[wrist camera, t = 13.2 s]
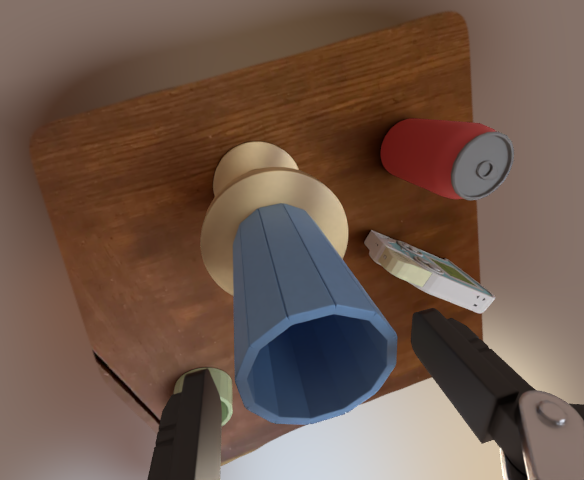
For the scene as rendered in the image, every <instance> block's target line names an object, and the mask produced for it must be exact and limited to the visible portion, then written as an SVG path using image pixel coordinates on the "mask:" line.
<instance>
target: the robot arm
mask: <svg viewBox="0 0 584 480" xmlns="http://www.w3.org/2000/svg"><path fill="white" fill-rule="evenodd" d="M411 344H412V347H413V350H414V352H415V354H416V356H417V357H418V358H419V360H420V361H421V362H422V364H423V365H424V366H425V368H426V369H427V370H428V372H429V373H430V375H431V376H432V377H433V379H434V380H435V381H436V383H437V384H438V385H439V387H440V388H441V389H442V391H443V392H444V393H445V395H446V396H447V397H448V399H449V400H450V401H451V403H452V404H453V405H454V407H455V408H456V409H457V411H458V412H459V413H460V415H461V416H462V417H463V419H464V420H465V422H466V423H467V424H468V426H469V427H470V428H471V430H472V431H473V432H474V434H475V435H476V436H477V438H478V439H479V440H480V442H481V443H485V442H488V441H491V440H495V442H496V443H497V444H498V445H499V447H500V458H501V466H502V473H503V479H504V480H584V405H580V404H568V403H567V402H565V401H563V400H562V399H560V398H558V397H556V396H554V395H552V394H550V393H546V392H542V391H537V390H535V389H534V388H533V387H531V386H530V385H529V384H528V383H527V382H526V381H525V380H524V379H522V377H520V376H519V375H518V374H517V373H516V372H515V371H514V370H513V369H512V368H511V367H510V366H509V365H508V364H506V362H504V361H503V360H502V359H501V358H500V357H499V356H498V355H497V354H496V353H495V352H494V351H493V350H492V349H489V348H488V346H487V345H486V344H485V343H484V342H483V341H482V340H481V339H479V338H478V336H477V335H476V334H474V333H473V332H472V331H471V330H470V329H469V328H468V327H467V326H466V325H464V324H462V323H460V322H458V321H456V320H454V319H453V318H449V319H446V318H445V317H444V316H443V315H442V314H441V313H440V312H439V311H438V310H436V309H434V308H431V309H427V310H423V311H419V312H416V313H414V314H413V319H412V332H411ZM221 425H222V406H221V399H220V395H219V392H218V390H217V387H216V385H215V383H214V381H213V378H212V376H211V374H210V371H209V370H208V369H207V368H206V369H203V370H199V371H195V372H191V373H188V374H186V375H185V377H184V381H183V387H182V392H180V393H176V394H173V395H171V397H170V399H169V401H168V402H167V404H166V406H165V408H164V409H163V411H162V416H161V420H160V425H159V432H158V434H157V439H156V447H155V448H154V452H153V457H152V462H151V466H150V471H149V475H148V480H220V465H221Z"/></svg>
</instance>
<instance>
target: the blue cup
mask: <svg viewBox="0 0 584 480" xmlns="http://www.w3.org/2000/svg"><path fill="white" fill-rule="evenodd" d="M233 292H234V355H235V383H236V385H237V388H238V391H239V393H240V396H241V399H242V401H243V404H244V406H245V407H246V409H247V410H249V411H251V412H253V413H255V414H257V415H258V416H260V417H262V418H264V419H266V420H268V421H270V422H271V423H275V424H303V425H308V424H309V423H310V424H314V423H317V422H320V421H323V420H327V419H330V418H333V417H337V416H340V415H343V414H345V412H346V413H348V412H349V411H351V410H352V409H354V408H355V407H357V406H358V405H360V404H361V403H362V402H364V401H365V400H367V399H368V398H370V397H371V396H373V395H374V394H376V392H378V391H379V389H380V388H381V386H382V385H383V383H384V382H385V380H386V379H387V377H388V376H389V374H390V373H391V372H392V370H393V369H394V367H395V364H396V355H397V335H396V333H395V331H394V330H393V328H392V327H391V326H390V324H389V323H388V322H387V320H386V319H385V317H384V316H383V315H382V313H381V312H380V311H379V309H378V308H377V306H376V305H375V304H374V302H373V301H372V299H371V298H370V297H369V295H368V294H367V293H366V291H365V290H364V288H363V287H362V286H361V284H360V283H359V281H358V280H357V279H356V277H355V276H354V275H353V273H352V272H351V270H350V269H349V268H348V266H347V265H346V264H345V262H344V261H343V259H342V258H341V257H340V255H339V254H338V252H337V251H336V250H335V248H334V247H333V246H332V244H331V243H330V241H329V240H328V239H327V237H326V236H325V235H324V233H323V232H322V230H321V229H320V228H319V226H318V225H317V224H316V223H315V221H314V220H313V219H312V218H311V217H310V215H309V214H308V213H307V212H306V211H305V210H303V209H300V208H297V207H294V206H291V205H288V204H284V203H283V204H282V203H280V204H275V205H270V206H265V207H261V208H259V209H256V210H255V211H254V212H253V213H252V214H251V215H249V216H248V217H247V218H246V219H245V220H244V221H242V222H241V223H240V225H239V227H238V230H237V233H236V236H235V239H234V242H233Z"/></svg>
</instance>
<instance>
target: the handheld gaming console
mask: <svg viewBox="0 0 584 480" xmlns="http://www.w3.org/2000/svg"><path fill="white" fill-rule="evenodd" d="M364 244H365V245H366V246H367V247H368V249H369V250H370V252H369V255H370V257H371V258H372V259H373V261H374V262H376V263H377V264H379V265H381V266H383V267H384V268H385V269H386V270H387V271H388V272H390V273H391V274H393V275H394V276H396V277H398V278H400V279H403V280H405V281H408V282H409V283H410V284H412V285H414V286H415V287H417V288H418V289H420V290H422V291H424V292H426V293H428V294H431V295H433V296H436V297H439V298H441V299H444V300H446V301H449V302H451V303H454V304H456V305H459V306H461V307H464V308H467V309H469V310H472V311H474V312H477V313H483V312H484V311H485V310H486V309H487V308H488V306H489V305H490V304H491V303H492V302H493V300H494V299H495V296H494V295H493V294H492V293H491V292H490V291H488V290H487V289H486V288H484V287H483V286H482V285H481V284H479V283H478V282H477V281H475V280H474V279H473V278H471V277H470V276H469V275H467V274H466V273H465V272H464V271H462V270H461V269H460V268H458V267H457V266H456V265H454V264H453V263H452V262H450V261H449V260H448V259H446V258H444V260H443V259H441V258H439V257H436V256H434V255H432V254H429V253H427V252H425V251H422V250H420V249H418V248H416V247H413V246H411V245H409V244H407V243H404V242H402V241H398V240H394V239H392V238H389V237H387V236H385V235H382V234H380V233H378V232H375V231H373V230H371V231H370V233H369V235H368V236H367V238H366V240H365V242H364Z"/></svg>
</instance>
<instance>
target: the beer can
mask: <svg viewBox="0 0 584 480" xmlns="http://www.w3.org/2000/svg"><path fill="white" fill-rule="evenodd" d="M380 155H381V161H382V164H383V166H384V167H385V169H386V170H387V171H388V172H389V173H390V174H392V175H394V176H396V177H399V178H401V179H403V180H406V181H408V182H410V183H413V184H415V185H417V186H420V187H422V188H424V189H427V190H429V191H431V192H433V193H436V194H438V195H440V196H443V197H447V198H450V199H467V200H478V199H481V198H483V197H486V196H488V195H489V194H491V193H492V192H494V191H495V190H496V189H497V188H498V187H499V186H500V185H501V184H502V183H503V182H504V180H505V179H506V177H507V175H508V173H509V172H510V170H511V167H512V164H513V158H514V149H513V145H512V142H511V140H510V139H509V138H508V137H507V135H505V134H502V133H500V132H497V131H495V130H494V129H492V128H490V127H487V126H485V125H482V124H480V123H470V122H457V121H443V120H429V119H416V118H415V119H405V120H403V121H400V122H398V123H397V124H396V125H394V126H393V127H392V128H391V129H390V130H389V132H388V133H387V134H386V136H385V138H384V140H383V143H382V145H381V153H380Z"/></svg>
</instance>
